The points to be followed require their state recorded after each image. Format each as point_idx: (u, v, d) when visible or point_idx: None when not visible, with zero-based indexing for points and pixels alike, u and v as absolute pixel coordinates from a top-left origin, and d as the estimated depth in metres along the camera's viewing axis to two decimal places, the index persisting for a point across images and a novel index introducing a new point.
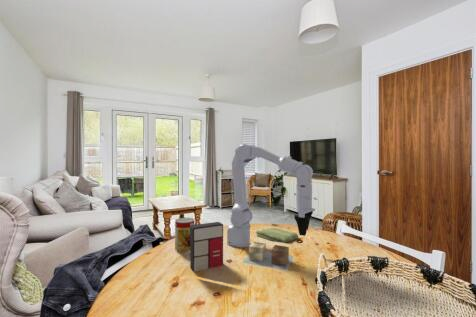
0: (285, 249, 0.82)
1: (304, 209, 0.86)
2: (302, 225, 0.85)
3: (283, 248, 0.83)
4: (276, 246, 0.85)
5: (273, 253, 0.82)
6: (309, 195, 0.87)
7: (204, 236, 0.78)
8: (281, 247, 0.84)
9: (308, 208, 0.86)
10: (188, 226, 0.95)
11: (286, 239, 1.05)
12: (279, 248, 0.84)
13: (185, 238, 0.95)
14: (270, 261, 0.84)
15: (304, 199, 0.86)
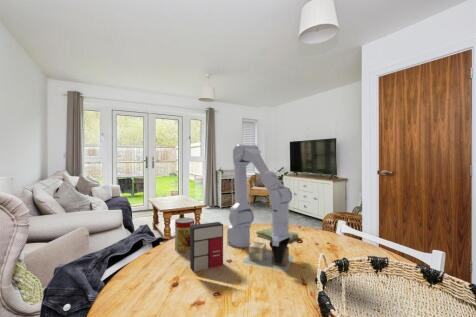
0: (285, 249, 0.82)
1: (279, 236, 0.81)
2: (278, 252, 0.80)
3: None
4: None
5: None
6: (282, 221, 0.81)
7: (204, 236, 0.78)
8: None
9: (284, 235, 0.81)
10: (188, 226, 0.95)
11: None
12: None
13: (185, 238, 0.95)
14: (270, 261, 0.84)
15: (279, 225, 0.81)
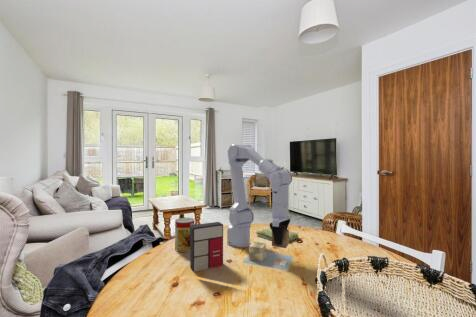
0: (285, 231, 0.82)
1: (279, 217, 0.81)
2: (278, 234, 0.80)
3: None
4: None
5: None
6: (282, 202, 0.81)
7: (204, 236, 0.78)
8: None
9: (284, 216, 0.81)
10: (188, 226, 0.95)
11: None
12: None
13: (185, 238, 0.95)
14: (270, 261, 0.84)
15: (280, 207, 0.81)
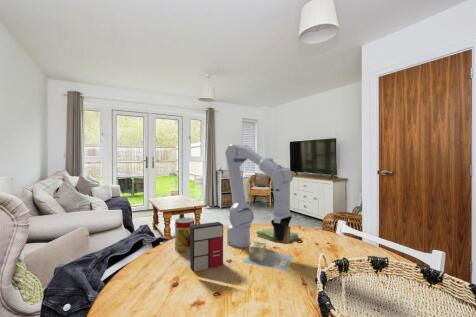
0: (287, 228, 0.85)
1: (281, 214, 0.83)
2: (279, 230, 0.83)
3: None
4: None
5: None
6: (284, 200, 0.83)
7: (204, 236, 0.78)
8: None
9: (285, 213, 0.83)
10: (188, 226, 0.95)
11: None
12: None
13: (185, 238, 0.95)
14: (270, 261, 0.84)
15: (281, 204, 0.83)
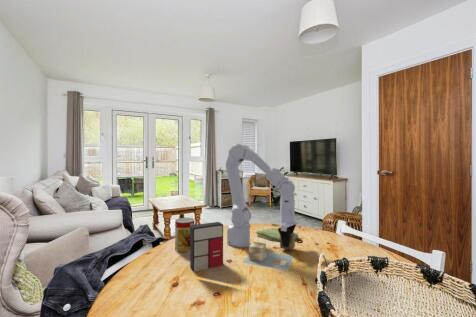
0: (292, 235, 0.94)
1: (287, 223, 0.92)
2: (285, 237, 0.92)
3: None
4: None
5: None
6: (292, 209, 0.93)
7: (204, 236, 0.78)
8: None
9: (290, 222, 0.92)
10: (188, 226, 0.95)
11: None
12: None
13: (185, 238, 0.95)
14: (270, 261, 0.84)
15: (287, 213, 0.92)
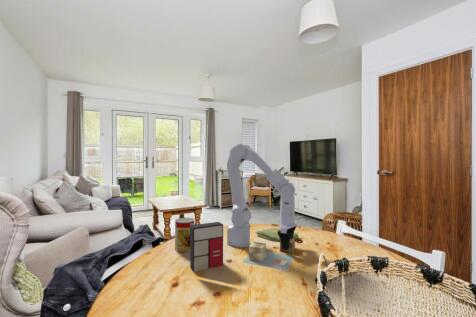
0: (292, 241, 0.94)
1: (287, 225, 0.92)
2: (285, 240, 0.91)
3: (290, 240, 0.95)
4: None
5: None
6: (292, 211, 0.93)
7: (204, 236, 0.78)
8: None
9: (290, 224, 0.92)
10: (188, 226, 0.95)
11: None
12: None
13: (185, 238, 0.95)
14: (270, 261, 0.84)
15: (287, 215, 0.92)
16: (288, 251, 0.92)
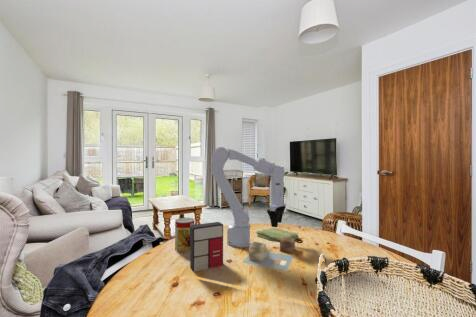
0: (292, 241, 0.94)
1: (276, 204, 0.98)
2: (274, 218, 0.97)
3: (290, 240, 0.95)
4: (284, 238, 0.96)
5: (281, 244, 0.93)
6: (282, 191, 1.00)
7: (204, 236, 0.78)
8: (288, 239, 0.96)
9: (279, 203, 0.99)
10: (188, 226, 0.95)
11: None
12: (286, 239, 0.95)
13: (185, 238, 0.95)
14: (270, 261, 0.84)
15: (276, 195, 0.98)
16: (288, 251, 0.92)
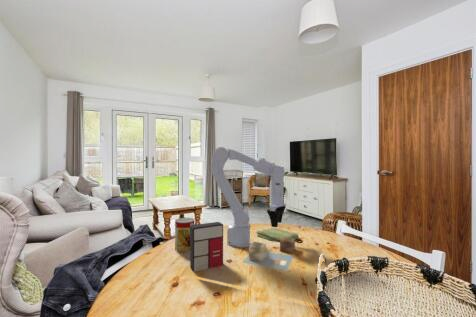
0: (292, 241, 0.94)
1: (276, 204, 0.98)
2: (274, 218, 0.97)
3: (290, 240, 0.95)
4: (284, 238, 0.97)
5: (281, 244, 0.93)
6: (282, 191, 1.00)
7: (204, 236, 0.78)
8: (288, 239, 0.96)
9: (279, 203, 0.99)
10: (188, 226, 0.95)
11: None
12: (286, 239, 0.95)
13: (185, 238, 0.95)
14: (270, 261, 0.84)
15: (276, 195, 0.98)
16: (288, 251, 0.92)
